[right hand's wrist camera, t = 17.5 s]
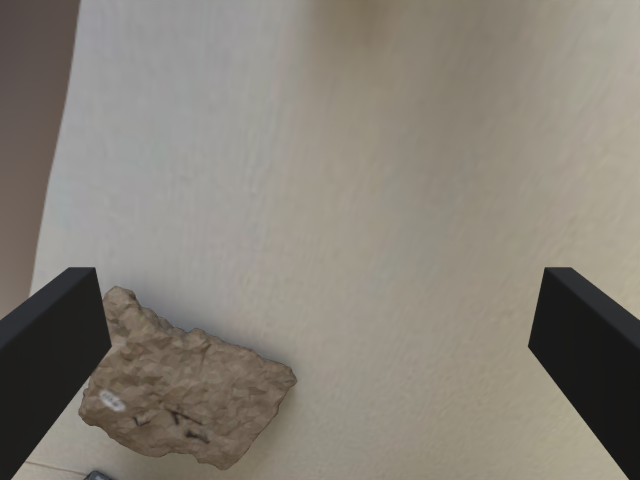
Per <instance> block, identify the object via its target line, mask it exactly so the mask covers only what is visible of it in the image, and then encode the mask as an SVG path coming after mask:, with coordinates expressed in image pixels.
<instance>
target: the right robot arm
mask: <svg viewBox="0 0 640 480" xmlns="http://www.w3.org/2000/svg"><path fill="white" fill-rule="evenodd" d="M111 347H112V344H111V339H110V334H109V330H108V325H107V321H106V316H105V311H104V307H103V302H102V297H101V293H100V288H99V283H98V279H97V274H96V269H95V267H69V268H68V269H66V270H65V271H64V272H62V273H61V274H60V275H58V276H57V277H56V278H55V279H53V280H52V281H51V282H49V283H48V284H47V285H45V286H44V287H43V288H42V289H40V290H39V291H38V292H36V293H35V294H34V295H33V296H31V297H30V298H29V299H27V300H26V301H25V302H24V303H22V304H21V305H20V306H18V307H17V308H16V309H14V310H13V311H12V312H11V313H9V314H8V315H7V316H5V317H4V318H3V319H2V320H0V480H11V479H12V478H13V476H14V475H15V474H16V472H17V471H18V470H19V468H20V467H21V466H22V464H23V463H24V462H25V460H26V459H27V458H28V457H29V455H30V454H31V453H32V451H33V450H34V449H35V447H36V446H37V445H38V443H39V442H40V441H41V439H42V438H43V437H44V435H45V434H46V433H47V432H48V430H49V429H50V428H51V426H52V425H53V424H54V422H55V421H56V420H57V418H58V417H59V416H60V414H61V413H62V412H63V411H64V409H65V408H66V407H67V405H68V404H69V403H70V401H71V400H72V399H73V397H74V396H75V395H76V393H77V392H78V391H79V389H80V388H81V387H82V386H83V384H84V383H85V382H86V380H87V379H88V378H89V376H90V375H91V374H92V372H93V371H94V370H95V368H96V367H97V366H98V365H99V363H100V362H101V361H102V359H103V358H104V357H105V355H106V354H107V353H108V351H109V350H110V349H111ZM528 347H529V349H530V350H531V351H532V353H533V354H534V355H535V357H536V358H537V359H538V361H539V362H540V363H541V365H542V366H543V367H544V368H545V370H546V371H547V372H548V374H549V375H550V376H551V378H552V379H553V380H554V382H555V383H556V384H557V386H558V387H559V388H560V389H561V391H562V392H563V393H564V395H565V396H566V397H567V399H568V400H569V401H570V403H571V404H572V405H573V407H574V408H575V409H576V411H577V412H578V413H579V414H580V416H581V417H582V418H583V420H584V421H585V422H586V424H587V425H588V426H589V428H590V429H591V430H592V432H593V433H594V434H595V435H596V437H597V438H598V439H599V441H600V442H601V443H602V445H603V446H604V447H605V449H606V450H607V451H608V453H609V454H610V455H611V457H612V458H613V459H614V460H615V462H616V463H617V464H618V466H619V467H620V468H621V470H622V471H623V472H624V474H625V475H626V476H627V478H628V479H629V480H640V320H639V319H637V318H636V317H635V316H633V315H632V314H631V313H629V312H628V311H627V310H626V309H624V308H623V307H622V306H620V305H619V304H618V303H617V302H615V301H614V300H613V299H611V298H610V297H609V296H607V295H606V294H605V293H604V292H602V291H601V290H600V289H598V288H597V287H596V286H595V285H593V284H592V283H591V282H589V281H588V280H587V279H585V278H584V277H583V276H582V275H580V274H579V273H578V272H576V271H575V270H574V269H572V268H571V267H545V269H544V274H543V279H542V283H541V288H540V293H539V297H538V302H537V306H536V311H535V316H534V320H533V325H532V330H531V334H530V339H529V344H528Z"/></svg>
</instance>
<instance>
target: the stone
mask: <svg viewBox="0 0 640 480" xmlns="http://www.w3.org/2000/svg"><path fill="white" fill-rule="evenodd" d="M102 302H103V307H104V311H105V316H106V321H107V325H108V330H109V334H110V339H111V344H112V347H111V349H110V350H109V351H108V353H107V354H106V355H105V357H104V358H103V359H102V361H101V362H100V363H99V365H98V366H97V367H96V368H95V370H94V371H93V372H92V374H91V375H90V376H91V377H90V381H89V388H87V389H85V390H84V392H83V395H84V397H83V400H82V404H81V407H80V408H79V413H78V415H79V416H80V417H81V418H82V419H83V421H84V422H85V423H87V424H88V425H90V426H94V425H95V426H98V427H101V428H102V429H103V430H104V431H105V432H107V434H108V435H109V437H110V438H112V439H114V440H116V441H117V442H118V443H120V444H121V445H124V446H126V447H128V448H129V449H131V450H133V451H135V452H137V453H140V454H142V455H145V456H152V457H161V456H164V455H166V454H167V453H171V452H173V453H181V454H187V453H188V454H193V455H194V456H195V457H196V458H197V460H198V462H199V463H209V464H211V465H214V466H216V467H217V468H218V469H220V470H227V469H228V468H229V467H231V466H232V465H233V464H234V463H236V462H237V461H238V460H239V459H240V458H241V457H242V456H243V455H244V454H245V452H246V451H247V450H248V449H249V447H250V445H251V444H252V442H253V441H254V440H255V439H256V437H257V436H258V435H259V433H260V432H261V431H262V430H263V429H264V428H265V427H266V426H267V425H268V424H269V423H270V421H271V420H272V419H273V418H274V417H275V416H276V415H277V413H278V407H279V404H280V403H281V401H282V400H283V398H284V396H285V395H286V393H287V391H288V390H289V388H290V387H292V386H294V385H295V384H296V383H297V379H296V377H295V375H294V374H293V372H292V370H291V368H290V367H287V366H285V365H283V364H281V363H278V362H274V361H271V360H266V359H263V358H262V357H261V356H259V355H257V354H256V353H255V352H254V351H253V350H252V349H248V348H244V347H240V346H238V345H231V344H228V343H225V342H224V341H222V340H221V339H220V338H219V337H214V336H212V335H209V334H207V333H205V332H204V331H203V330H200V329H197V328H195V329H193V330H192V331H190V332H189V333H186V332H185V331H184V330H182V329H180V328H173V326H172V325H171V324H170V323H169V322H168V321H167V320H166V319H164V318H162V317H158V316H157V314H156V313H154V312H153V311H152V310H151V309H150V308H143V307H141V306H140V304H139V302H138V301H137V299H136V297H135V294H134V292H133V291H131V290H127V289H123V288H121V287H118V286H114V287H113V288H112V289H111V290H109V291H108V292H107V293H106V295H105V297H104V299H103V300H102Z"/></svg>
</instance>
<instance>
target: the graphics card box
mask: <svg viewBox="0 0 640 480" xmlns="http://www.w3.org/2000/svg"><path fill="white" fill-rule="evenodd" d="M84 480H111V479H109V478H108V477H106V476H104V475H103V474H101V473H99V472H97V471H92V472H91V473H90V474H89V475H88V476H87V477H86V478H85V479H84Z"/></svg>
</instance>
